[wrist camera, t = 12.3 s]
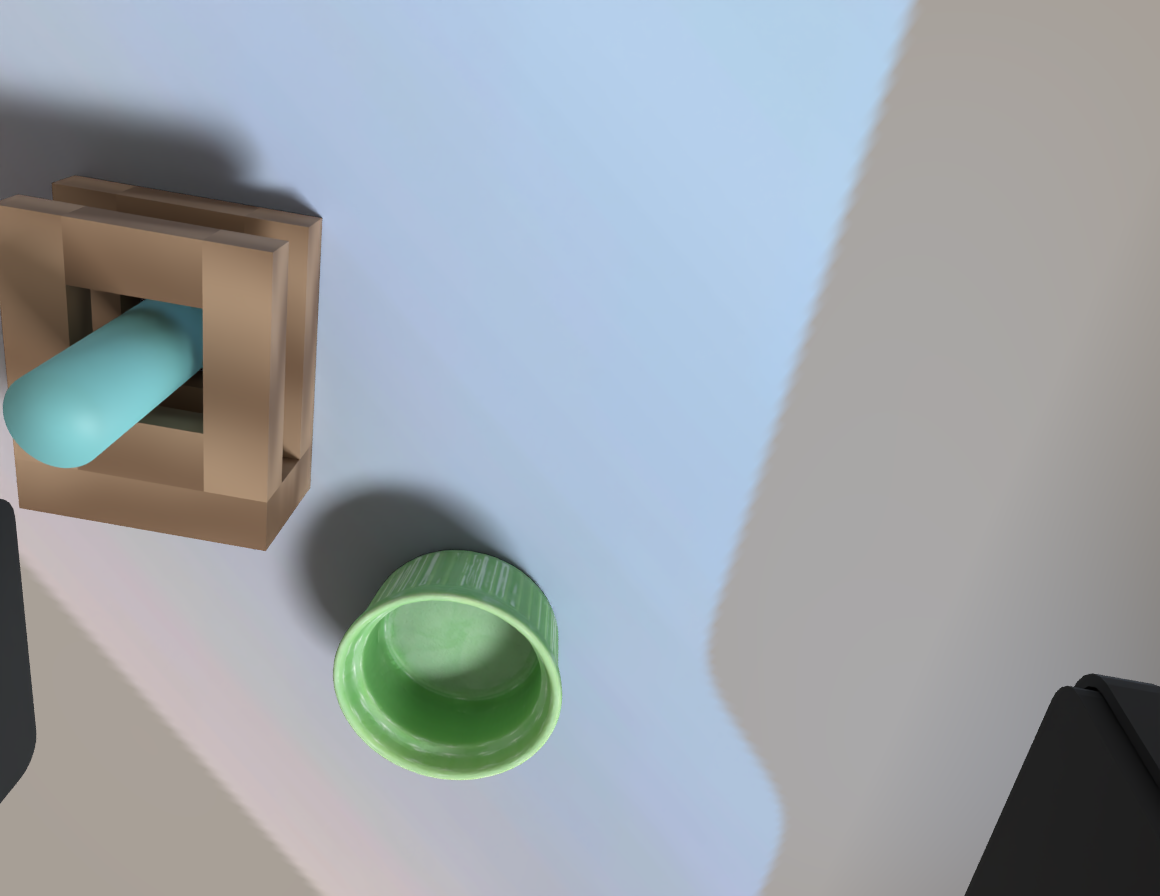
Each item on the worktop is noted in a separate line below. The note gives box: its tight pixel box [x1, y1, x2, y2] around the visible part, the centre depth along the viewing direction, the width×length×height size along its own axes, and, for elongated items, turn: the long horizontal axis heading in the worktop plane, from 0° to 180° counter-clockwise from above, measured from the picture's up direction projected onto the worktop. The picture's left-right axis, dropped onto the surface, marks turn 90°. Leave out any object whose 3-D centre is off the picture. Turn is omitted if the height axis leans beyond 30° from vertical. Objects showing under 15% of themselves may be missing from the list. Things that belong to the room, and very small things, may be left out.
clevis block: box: [0, 175, 322, 551], centre depth 36 cm, size 11×9×5 cm
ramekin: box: [333, 550, 562, 780], centre depth 42 cm, size 9×9×4 cm
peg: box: [3, 299, 203, 468], centre depth 34 cm, size 3×3×10 cm
